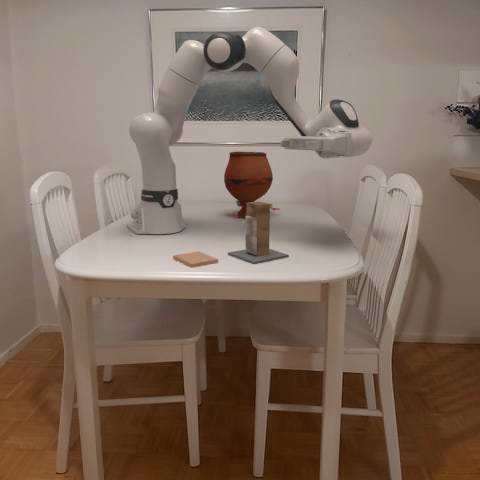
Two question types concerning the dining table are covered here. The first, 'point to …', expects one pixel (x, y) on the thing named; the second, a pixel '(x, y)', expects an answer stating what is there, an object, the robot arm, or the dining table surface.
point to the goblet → (247, 177)
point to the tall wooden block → (257, 228)
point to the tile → (195, 259)
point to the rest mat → (254, 259)
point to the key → (273, 208)
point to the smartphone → (238, 203)
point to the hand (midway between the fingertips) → (293, 144)
